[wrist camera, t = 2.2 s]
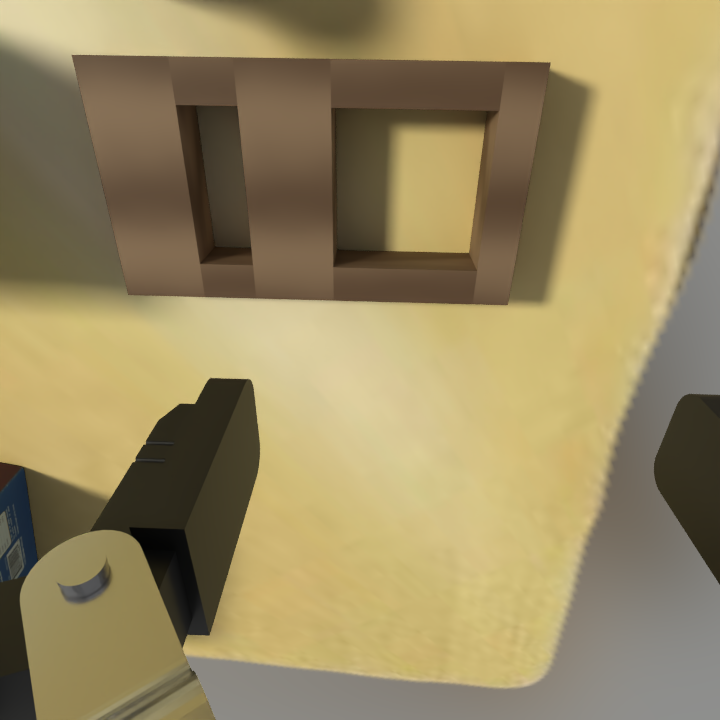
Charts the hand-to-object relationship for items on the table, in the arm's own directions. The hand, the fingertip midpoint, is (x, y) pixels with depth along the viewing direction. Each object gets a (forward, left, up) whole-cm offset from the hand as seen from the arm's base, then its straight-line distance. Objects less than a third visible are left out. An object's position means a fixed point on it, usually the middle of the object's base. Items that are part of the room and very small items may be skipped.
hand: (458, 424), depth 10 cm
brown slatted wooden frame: (0, -5, -22) cm, 23 cm away
